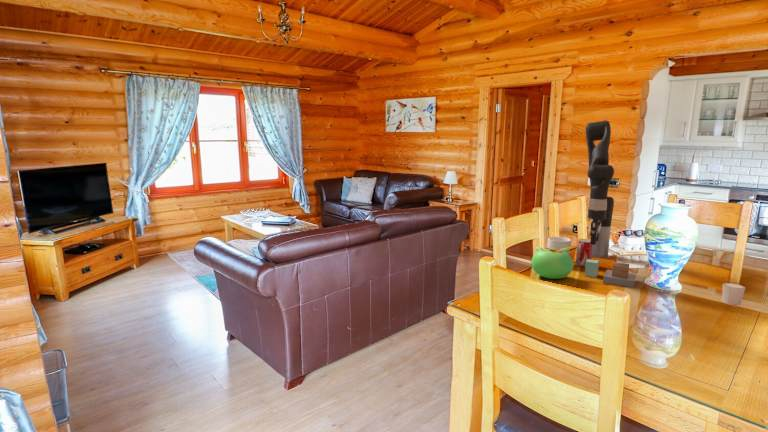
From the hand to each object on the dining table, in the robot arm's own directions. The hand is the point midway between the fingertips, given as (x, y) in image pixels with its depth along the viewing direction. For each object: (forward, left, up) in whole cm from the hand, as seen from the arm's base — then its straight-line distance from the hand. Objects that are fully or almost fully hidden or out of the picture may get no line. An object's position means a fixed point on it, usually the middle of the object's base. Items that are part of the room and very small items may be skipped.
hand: (594, 242), depth 195 cm
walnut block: (+3, +12, -13) cm, 18 cm away
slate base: (+3, +12, -16) cm, 20 cm away
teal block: (0, 0, -16) cm, 16 cm away
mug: (-13, -18, -16) cm, 27 cm away
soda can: (-16, -6, -16) cm, 24 cm away
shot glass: (+7, +51, -16) cm, 54 cm away
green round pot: (+14, -15, -16) cm, 26 cm away
